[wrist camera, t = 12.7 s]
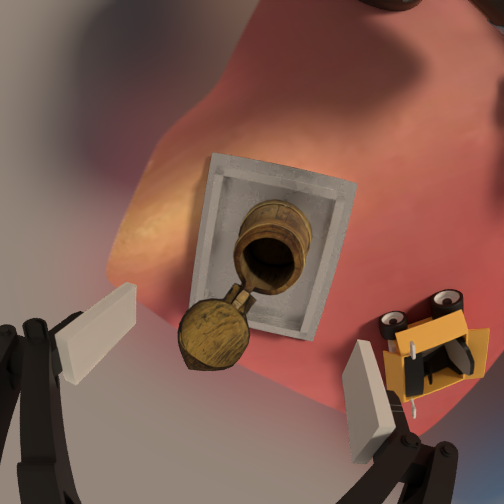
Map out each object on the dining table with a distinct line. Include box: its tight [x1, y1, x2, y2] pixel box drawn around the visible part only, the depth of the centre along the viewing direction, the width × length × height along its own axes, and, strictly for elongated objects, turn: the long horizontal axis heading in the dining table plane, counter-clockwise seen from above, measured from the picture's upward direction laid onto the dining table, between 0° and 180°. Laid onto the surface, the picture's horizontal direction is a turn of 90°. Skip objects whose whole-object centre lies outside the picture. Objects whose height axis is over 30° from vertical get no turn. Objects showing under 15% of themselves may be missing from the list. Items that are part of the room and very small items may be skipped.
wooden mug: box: [178, 199, 312, 371], centre depth 29 cm, size 9×14×18 cm, turn 142°
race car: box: [379, 289, 490, 419], centre depth 34 cm, size 15×15×11 cm
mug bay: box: [189, 152, 358, 341], centre depth 37 cm, size 22×18×4 cm
